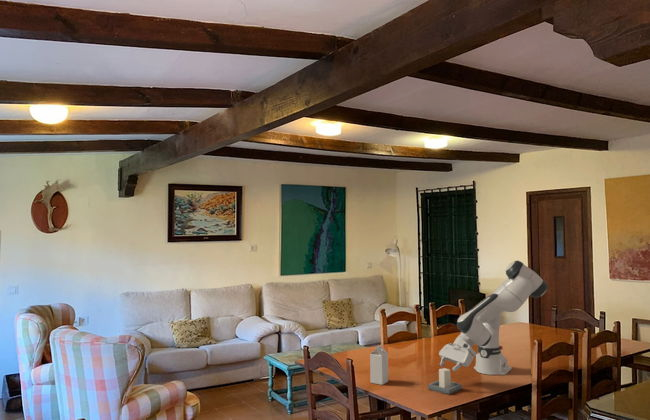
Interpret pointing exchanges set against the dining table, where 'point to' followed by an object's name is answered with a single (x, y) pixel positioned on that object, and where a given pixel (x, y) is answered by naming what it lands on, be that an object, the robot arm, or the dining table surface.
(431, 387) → the grey tray
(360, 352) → the dining table surface
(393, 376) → the dining table surface
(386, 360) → the milk carton
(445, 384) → the cream block
